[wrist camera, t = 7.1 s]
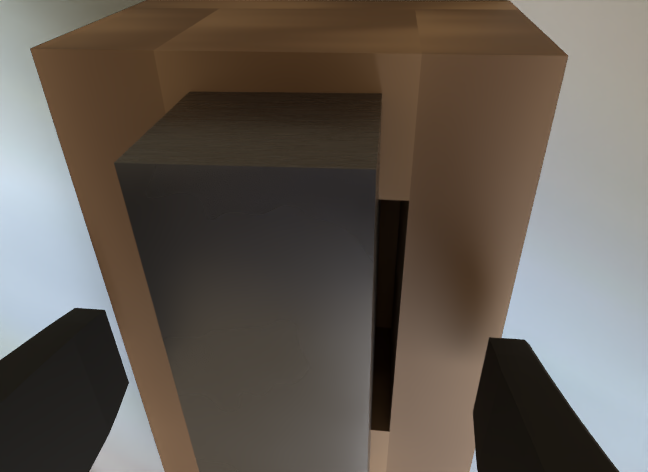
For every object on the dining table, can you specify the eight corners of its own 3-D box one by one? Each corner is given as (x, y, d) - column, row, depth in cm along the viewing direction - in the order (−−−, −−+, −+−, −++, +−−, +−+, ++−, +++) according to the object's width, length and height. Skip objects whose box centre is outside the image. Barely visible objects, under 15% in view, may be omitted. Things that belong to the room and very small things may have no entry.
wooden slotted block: (509, 1, 11) (568, 56, 7) (423, 513, 22) (429, 640, 18) (146, -1, 12) (30, 48, 8) (239, 493, 23) (208, 610, 19)
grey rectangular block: (386, 42, 10) (375, 169, 6) (374, 358, 15) (364, 570, 10) (240, 43, 11) (114, 162, 6) (275, 351, 16) (221, 553, 11)
